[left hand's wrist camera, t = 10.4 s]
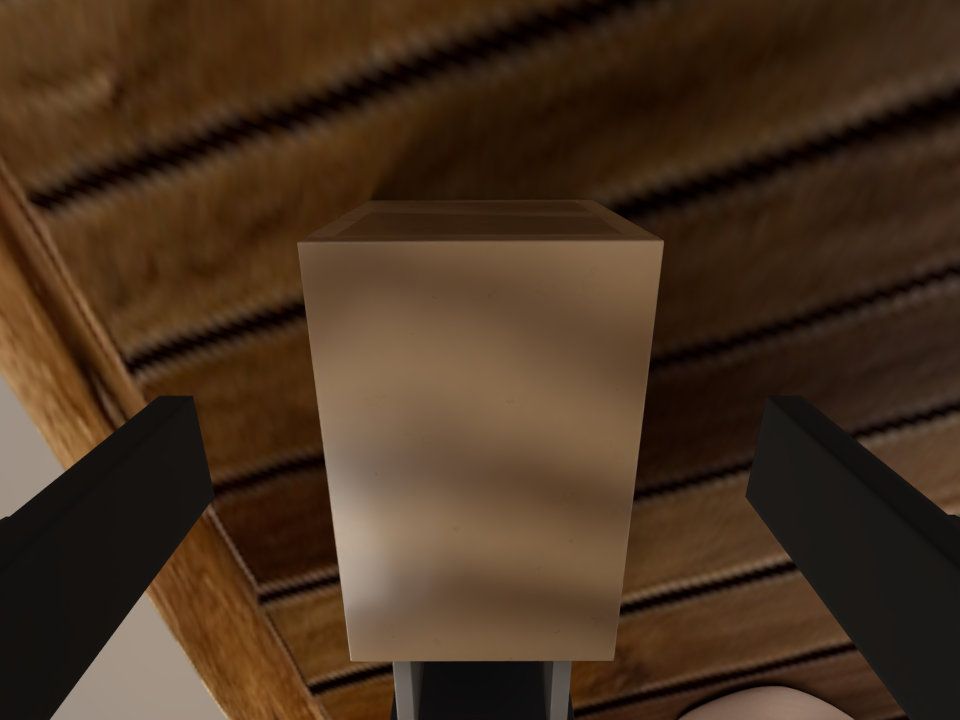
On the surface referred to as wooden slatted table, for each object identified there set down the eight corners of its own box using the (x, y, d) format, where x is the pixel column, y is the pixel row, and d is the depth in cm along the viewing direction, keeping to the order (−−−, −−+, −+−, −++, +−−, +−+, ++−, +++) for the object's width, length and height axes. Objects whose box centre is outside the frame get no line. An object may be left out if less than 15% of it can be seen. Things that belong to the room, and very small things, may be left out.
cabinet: (571, 496, 32) (614, 661, 22) (391, 496, 32) (350, 662, 22) (592, 199, 26) (665, 239, 16) (368, 200, 26) (295, 241, 16)
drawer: (552, 689, 37) (573, 852, 29) (412, 690, 37) (392, 853, 29) (570, 405, 29) (607, 515, 21) (391, 406, 29) (355, 516, 21)
